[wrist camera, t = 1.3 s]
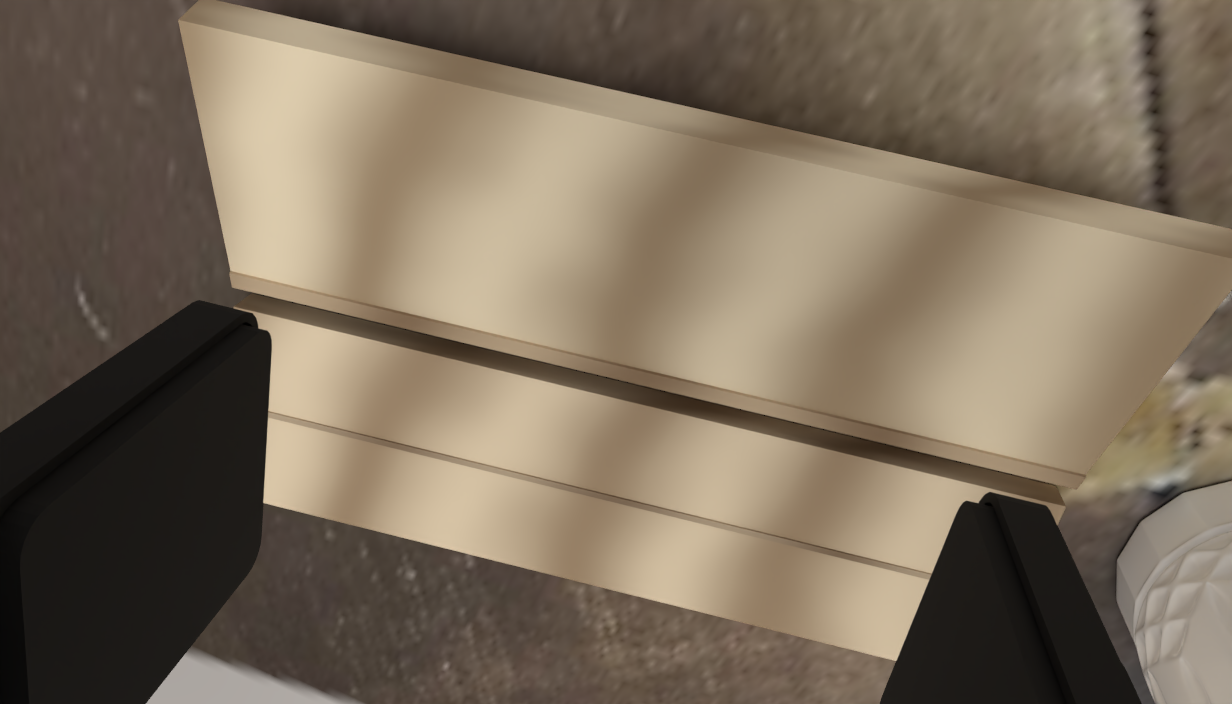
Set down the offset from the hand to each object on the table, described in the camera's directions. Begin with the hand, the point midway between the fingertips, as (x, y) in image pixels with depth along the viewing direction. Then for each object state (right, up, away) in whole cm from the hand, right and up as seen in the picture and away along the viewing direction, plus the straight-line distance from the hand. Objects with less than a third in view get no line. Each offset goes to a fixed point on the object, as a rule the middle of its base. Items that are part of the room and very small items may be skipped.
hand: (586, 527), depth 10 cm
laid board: (+1, -2, +23) cm, 23 cm away
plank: (+2, +5, +17) cm, 18 cm away
